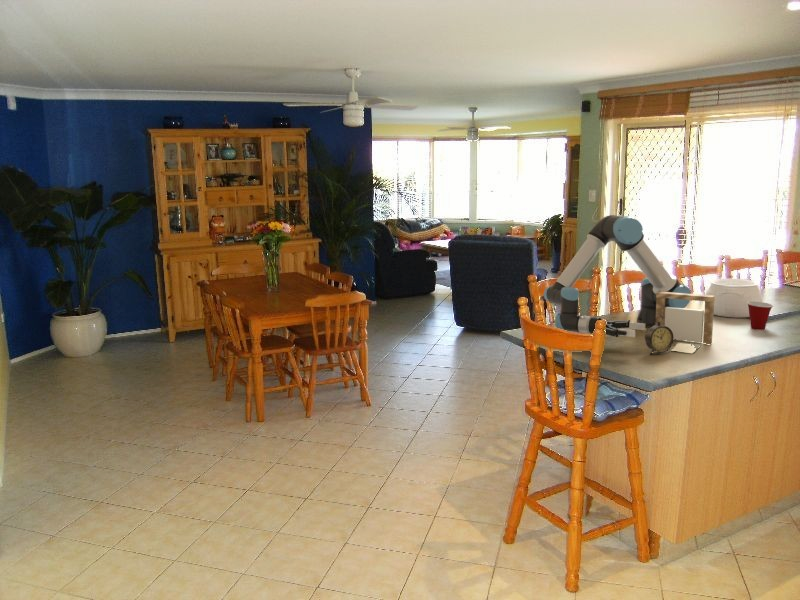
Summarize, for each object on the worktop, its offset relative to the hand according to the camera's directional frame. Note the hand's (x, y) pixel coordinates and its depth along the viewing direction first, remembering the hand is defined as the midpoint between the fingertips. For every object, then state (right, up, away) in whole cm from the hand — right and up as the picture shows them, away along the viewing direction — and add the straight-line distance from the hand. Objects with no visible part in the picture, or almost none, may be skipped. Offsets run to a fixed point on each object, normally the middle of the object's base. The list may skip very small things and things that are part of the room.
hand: (640, 330), depth 286 cm
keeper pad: (+20, -8, +2) cm, 22 cm away
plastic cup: (+66, -1, +32) cm, 73 cm away
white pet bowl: (+69, +6, +63) cm, 94 cm away
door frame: (+24, -5, +14) cm, 28 cm away
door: (+24, -5, +14) cm, 28 cm away
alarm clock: (+7, -10, -2) cm, 12 cm away
